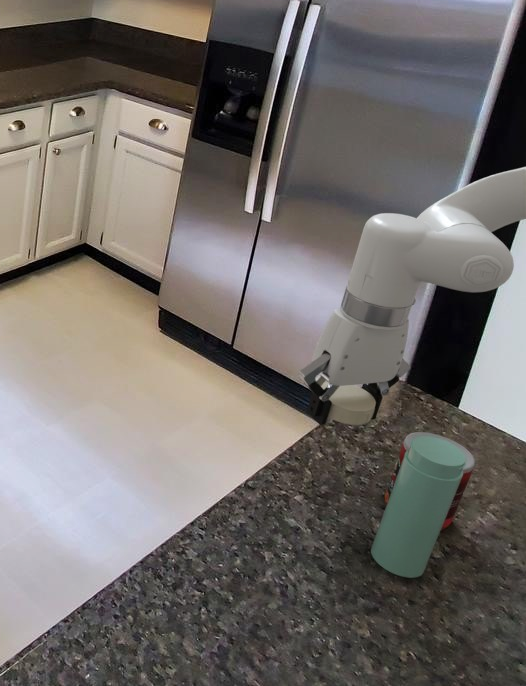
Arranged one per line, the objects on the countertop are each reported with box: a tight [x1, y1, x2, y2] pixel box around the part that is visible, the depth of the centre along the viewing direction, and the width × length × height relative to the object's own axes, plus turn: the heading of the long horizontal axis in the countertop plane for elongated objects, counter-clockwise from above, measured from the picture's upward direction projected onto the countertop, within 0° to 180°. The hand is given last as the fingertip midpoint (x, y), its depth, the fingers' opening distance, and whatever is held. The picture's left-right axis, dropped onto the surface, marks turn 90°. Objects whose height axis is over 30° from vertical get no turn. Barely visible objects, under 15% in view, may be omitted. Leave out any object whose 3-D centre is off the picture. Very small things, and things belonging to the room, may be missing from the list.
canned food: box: [384, 431, 476, 531], centre depth 109 cm, size 8×8×11 cm
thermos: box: [370, 436, 466, 579], centre depth 100 cm, size 6×6×18 cm
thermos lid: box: [321, 380, 376, 426], centre depth 111 cm, size 7×7×2 cm
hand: (340, 415), depth 112 cm, fingers closed on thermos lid, 7 cm apart
